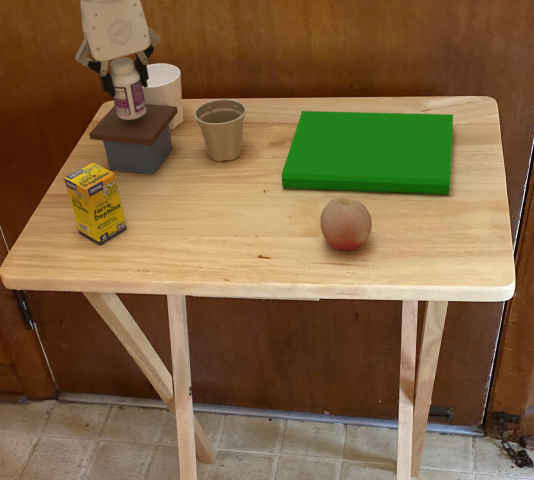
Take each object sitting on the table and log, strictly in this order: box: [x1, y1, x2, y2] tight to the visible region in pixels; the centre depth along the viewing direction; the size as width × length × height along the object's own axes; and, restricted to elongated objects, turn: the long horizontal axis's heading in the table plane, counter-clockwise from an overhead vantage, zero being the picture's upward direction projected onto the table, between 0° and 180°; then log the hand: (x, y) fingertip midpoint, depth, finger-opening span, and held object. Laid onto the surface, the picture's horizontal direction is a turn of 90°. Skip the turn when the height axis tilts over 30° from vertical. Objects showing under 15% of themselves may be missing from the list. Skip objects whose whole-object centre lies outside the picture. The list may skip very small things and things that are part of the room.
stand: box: [88, 104, 178, 175], centre depth 149 cm, size 12×12×8 cm
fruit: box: [319, 197, 373, 252], centre depth 125 cm, size 8×8×8 cm
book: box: [281, 110, 454, 196], centre depth 145 cm, size 22×28×3 cm
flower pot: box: [193, 98, 247, 162], centre depth 148 cm, size 9×9×9 cm
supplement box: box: [63, 161, 128, 246], centre depth 132 cm, size 6×6×11 cm
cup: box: [142, 62, 184, 131], centre depth 158 cm, size 10×10×10 cm
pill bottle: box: [109, 57, 146, 120], centre depth 142 cm, size 5×5×10 cm
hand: (126, 88), depth 142 cm, fingers closed on pill bottle, 5 cm apart
